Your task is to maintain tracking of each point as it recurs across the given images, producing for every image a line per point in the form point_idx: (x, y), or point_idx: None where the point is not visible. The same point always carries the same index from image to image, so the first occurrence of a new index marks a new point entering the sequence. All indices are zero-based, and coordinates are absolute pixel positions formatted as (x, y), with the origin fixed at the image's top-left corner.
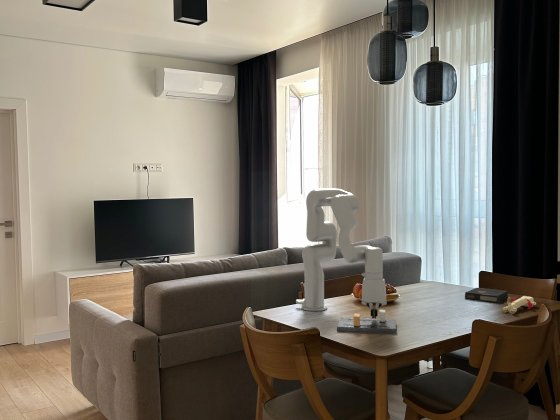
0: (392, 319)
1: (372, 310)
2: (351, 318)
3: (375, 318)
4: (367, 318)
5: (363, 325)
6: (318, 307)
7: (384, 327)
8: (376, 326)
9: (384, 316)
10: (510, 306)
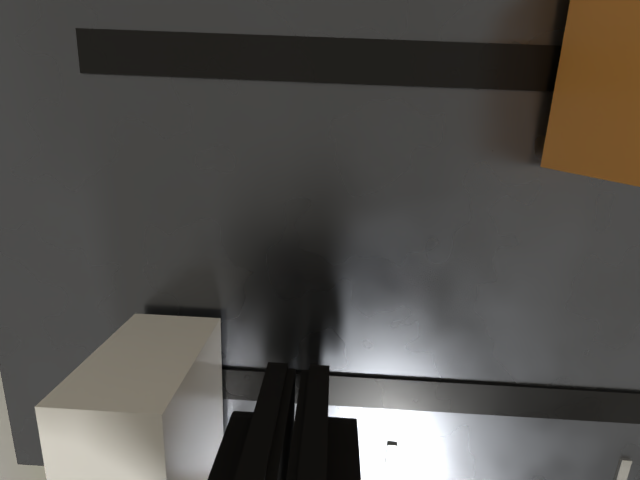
0: None
1: (317, 472)
2: (628, 462)
3: (274, 363)
4: (393, 474)
5: (488, 50)
6: None
7: None
8: (259, 22)
9: (99, 355)
10: None
